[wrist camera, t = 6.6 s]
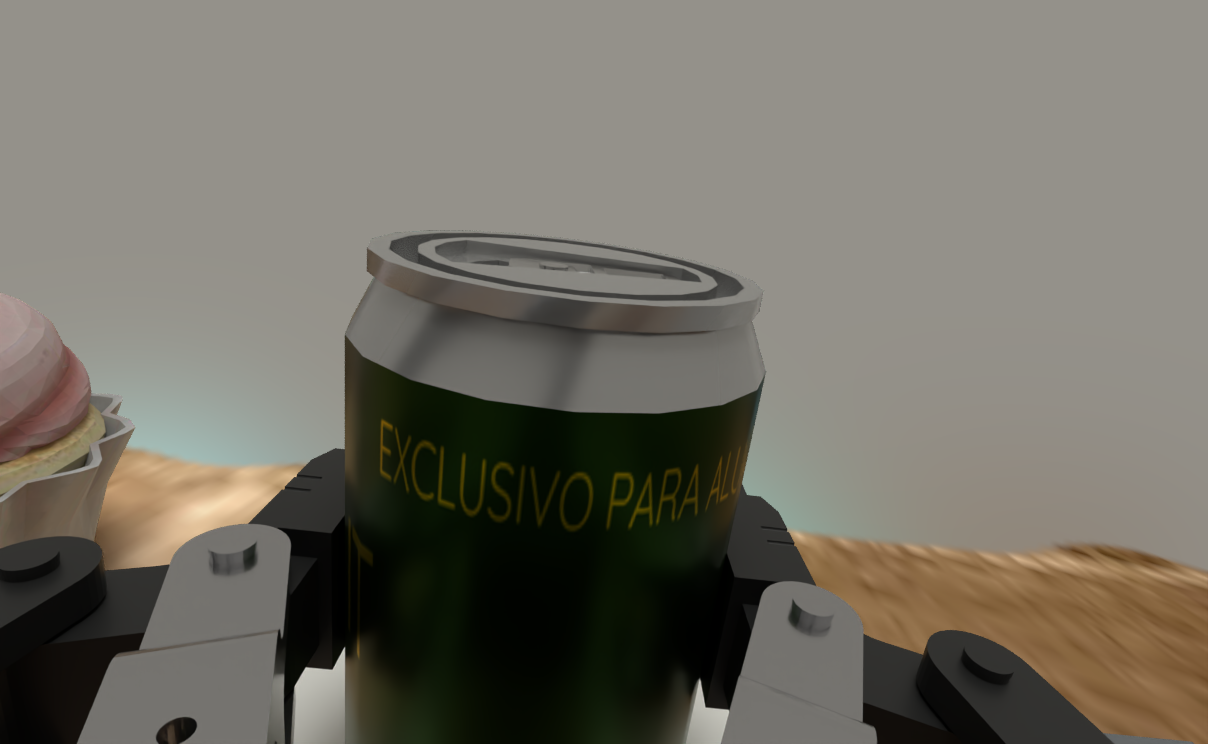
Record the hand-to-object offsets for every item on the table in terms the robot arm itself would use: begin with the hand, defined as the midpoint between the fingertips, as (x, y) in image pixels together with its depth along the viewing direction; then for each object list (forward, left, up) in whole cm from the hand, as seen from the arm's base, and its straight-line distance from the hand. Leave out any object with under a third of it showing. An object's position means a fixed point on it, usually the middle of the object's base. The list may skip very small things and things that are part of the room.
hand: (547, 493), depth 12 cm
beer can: (0, -3, -7) cm, 8 cm away
